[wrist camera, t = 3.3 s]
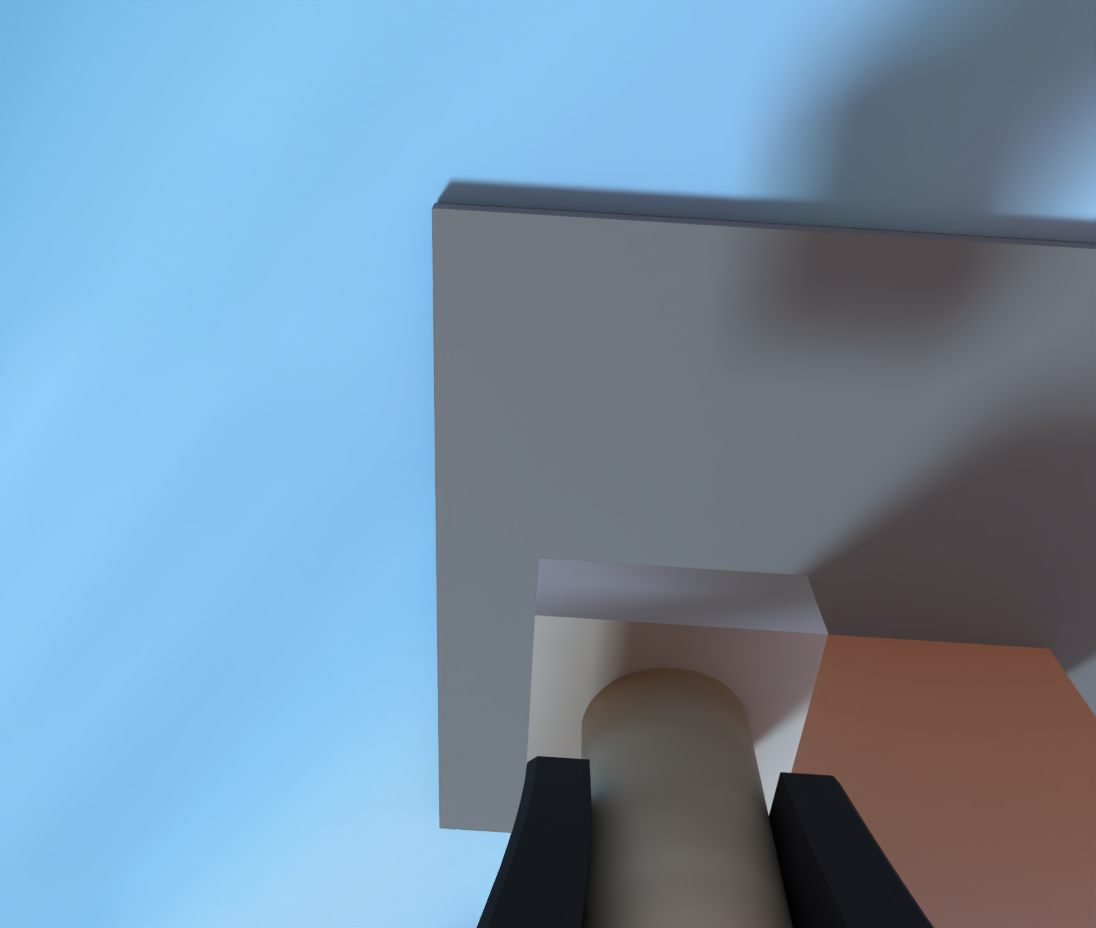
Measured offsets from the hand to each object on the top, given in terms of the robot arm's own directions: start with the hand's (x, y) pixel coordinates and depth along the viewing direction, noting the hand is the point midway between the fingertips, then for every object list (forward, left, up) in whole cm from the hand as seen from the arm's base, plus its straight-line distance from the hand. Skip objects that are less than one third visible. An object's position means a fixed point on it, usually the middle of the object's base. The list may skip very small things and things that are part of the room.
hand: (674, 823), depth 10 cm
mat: (-6, +3, -9) cm, 11 cm away
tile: (-6, +4, -8) cm, 11 cm away
